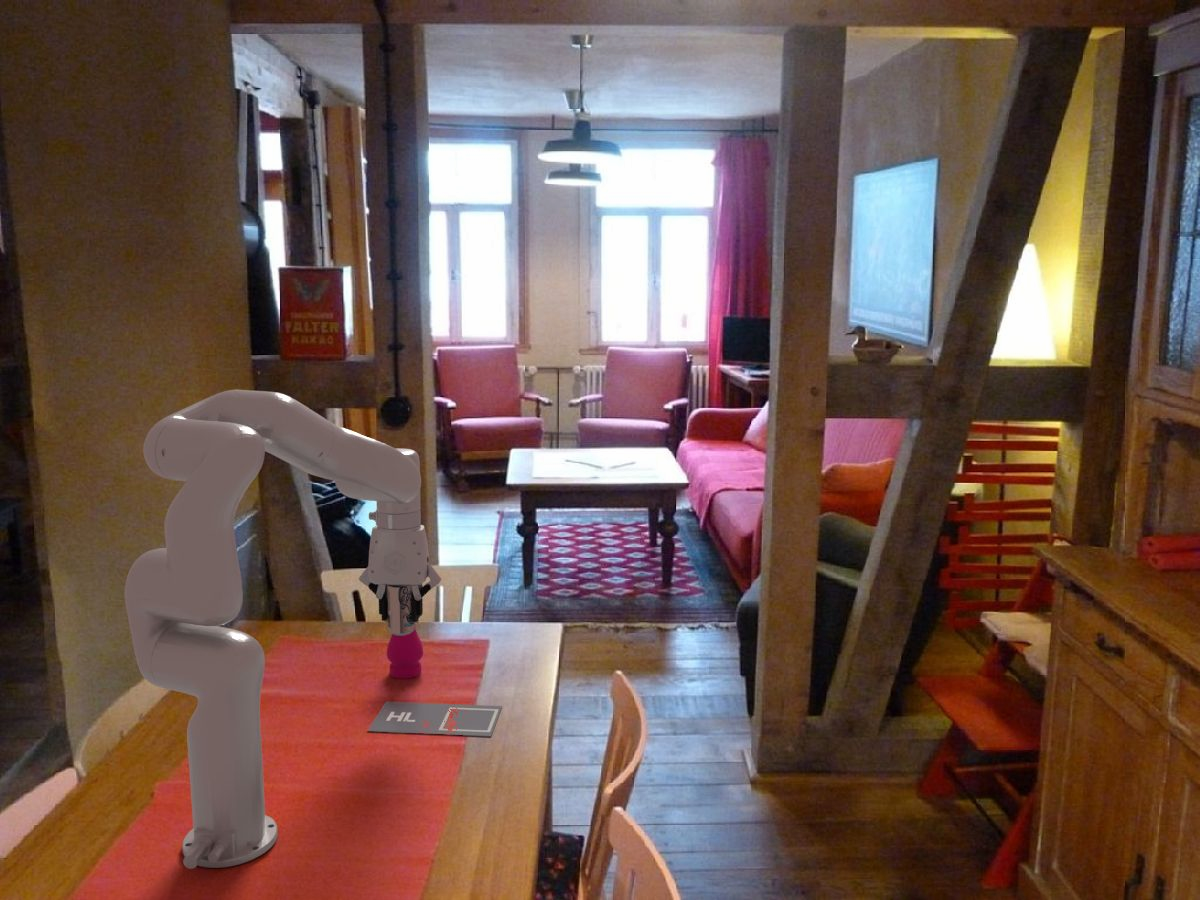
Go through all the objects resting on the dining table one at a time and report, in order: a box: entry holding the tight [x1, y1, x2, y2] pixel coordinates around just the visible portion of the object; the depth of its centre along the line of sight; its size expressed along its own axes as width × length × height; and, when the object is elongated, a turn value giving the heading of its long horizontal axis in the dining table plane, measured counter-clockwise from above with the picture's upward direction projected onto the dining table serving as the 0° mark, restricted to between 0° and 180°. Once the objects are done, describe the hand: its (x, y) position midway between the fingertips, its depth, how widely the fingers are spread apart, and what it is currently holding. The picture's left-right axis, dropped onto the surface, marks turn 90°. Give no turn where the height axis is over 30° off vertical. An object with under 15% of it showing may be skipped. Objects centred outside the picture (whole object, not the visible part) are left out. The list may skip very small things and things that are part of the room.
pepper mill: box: [386, 627, 424, 680], centre depth 196 cm, size 7×7×20 cm
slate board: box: [366, 701, 503, 738], centre depth 178 cm, size 12×22×1 cm, turn 86°
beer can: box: [386, 585, 416, 636], centre depth 174 cm, size 5×5×12 cm
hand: (401, 617), depth 175 cm, fingers closed on beer can, 4 cm apart
